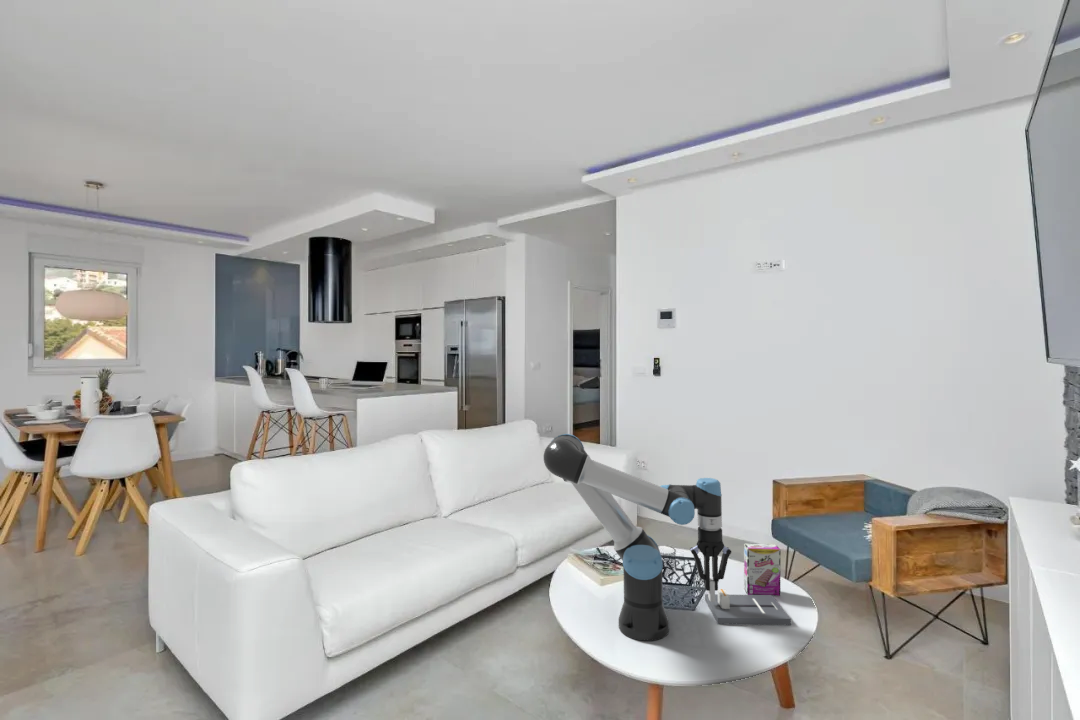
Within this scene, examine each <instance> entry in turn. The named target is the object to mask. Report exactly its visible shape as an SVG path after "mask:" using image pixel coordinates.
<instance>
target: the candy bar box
mask: <svg viewBox="0 0 1080 720" xmlns="http://www.w3.org/2000/svg"><path fill="white" fill-rule="evenodd" d="M743 589H744V591H745V593H746V595H772V596H773V597H775V596H776V597H778V596H779V597H780V596H781V548H780V547H779V546H778V545H777V544H769V543H767V544H766V543H743Z"/></svg>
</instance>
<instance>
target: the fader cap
mask: <svg viewBox="0 0 1080 720" xmlns="http://www.w3.org/2000/svg"><path fill="white" fill-rule="evenodd" d="M717 594H718V603H719V604H720V606H721V608H722V609H730V598H729V595H730V594H729V593H728V592H727V590H726V589H724V588H718V590H717Z"/></svg>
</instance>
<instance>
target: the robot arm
mask: <svg viewBox="0 0 1080 720" xmlns="http://www.w3.org/2000/svg"><path fill="white" fill-rule="evenodd" d="M543 452H544V453H543V462H544V466H545V467H546V469H547V470H548V471H549V472H550V473H551V474H553V475H554V476H556V477H558V478H560V479H563V481H564V483H570V484H571V485H572V486H573V487H574V489H575V490H576V491H577V493H578V494H579V495H580V497H581V499H583V501H584V502H585V503H586V505H587V506H588V508H589V509H590V510H591V512H592V513H593V514H594V516H595V517H596V519H597V521H598V522H599V523H600V524H601V525H602V527H603V528H604V530H605V531H606V532H607V534H608V535H609V536H610V538H611V539H612V541H613V542H614V543H613V545H614V546H613V549H614V551H615V552H616V554H617V555H618V557H619V558H620V559H621V561H622V566H623V568H622V569H623V570H622V571H623V602H622V603H623V604H622V607H621V610H620V612H619V616H618V629H619V631H620V632H621V633H622V634H623V635H624V636H626V637H629V638H631V639H634V640H638V641H644V642H646V641H647V642H648V641H649V642H650V641H652V642H653V641H657V640H661V639H664V638H665V637H666V636H667V635H669V632H670V622H669V619H668V615H667V612H666V610H665V607H664V606H665V605H664V603H663V596H664V595H663V568H664V562H663V557H662V554H661V551H660V549H659V548H660V547H659V545H658V544H657V543H656V541H655V540H654V538H652V537H651V536H650V535H648V534H647V533H646V531H645V530H644V528H643V527H642V526H636V525H635V524H634V523H633V521H632V520H631V519H630V518H629V516H628V515H627V514H626V511H624V509H623V507H621V505H620V504H619V502H618V501H617V500H616V499H615V497H614V496H616V497H617V498H618V497H619V498H621V499H623V500H626V501H627V502H628V501H629V502H631V503H633V504H636V505H639V506H641V507H643V508H646V509H648V510H651V511H653V512H656V513H658V514H661V515H664V516H665V517H668V518H670V520H671V521H673V522H674V523H675V524H677V525H679V526H683V525H688V524H690V523H692V521H693V520H694V519H695V513H696V512H695V511H696V510H697V526H698V527H697V541H696V545H695V546H694V547H689V550H690V552H691V554H692V555H693V559H694V562H695V563H694V564H695V567H696V570H697V573H698V577H699V578H700V580H704V588H705V591H707V593H708V598H709V600H710V602H715V594H716V591H717V592H718V589H719V584H718V583H719V580H724V578H725V573H726V570H727V566H728V565H727V564H728V560H729V557H730V556H731V554H732V550H731V548H730V547H727V546H726V545H725V544H724V541H723V529H722V528H723V518H722V517H723V516H722V515H723V513H722V510H723V509H722V507H723V505H722V495H723V494H722V488H721V487H722V486H721V485H722V484H721V482H720V481H719V480H718V479H716V478H712V477H699V478H698V479H697V480H696V483H695V484H693V485H690V484H688V485H687V484H686V485H685V484H672V483H671V484H663V485H658V484H654V483H652V482H649V481H647V480H644V479H642V478H639V477H637V476H635V475H632V474H629V473H627V472H624V471H621V470H619V469H616V468H613V467H612V466H608V465H606V464H603V463H601V462H598V461H596V460H593V459H591V456H590V455H589V454H588V453H587V452H586V450H585V447H584V444H583V442H582V441H581V440H580V438H578V437H577V436H575V435H574V434H570V433H564V434H563V433H562V434H560V435H558V436H556V437H554V438H553V439H552V440H551V441H550V443H548V445H547V446H546V448H545V449H544V451H543ZM699 551H700V552H701V554H702V555H703V556H702V557H703V568H702V565H701V561H700V558H699V555H698V554H699ZM721 552H722V554H721ZM720 554H721V560H720V564H719V563H718V561H719V555H720ZM710 559H711V566H710ZM718 564H719V566H718ZM710 567H711V568H710ZM710 569H711V573H710ZM711 574H712V575H711Z"/></svg>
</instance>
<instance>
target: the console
mask: <svg viewBox="0 0 1080 720" xmlns="http://www.w3.org/2000/svg"><path fill="white" fill-rule="evenodd" d="M728 595H729V598H730V609H722V608H721V606H720V604H719V603H718V593H715V602H710V600H709V598H708V594H707V593H705V594H704V601H705V603H706V604H707V605H706V606H707V607H708V608H709V611H710V612H711V614H712V616H713V618H714V620H715V621H716V623H717V625H741V626H742V625H747V626H748V625H749V626H751V625H752V626H792V618H791V617H790V615H789V614H788V613H787V612H786V611H785V610H784V608H783V607H782V606H781V605H780V603H779V602H778V601H777V600H776V599H775V596H772V595H748V594H728Z"/></svg>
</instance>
